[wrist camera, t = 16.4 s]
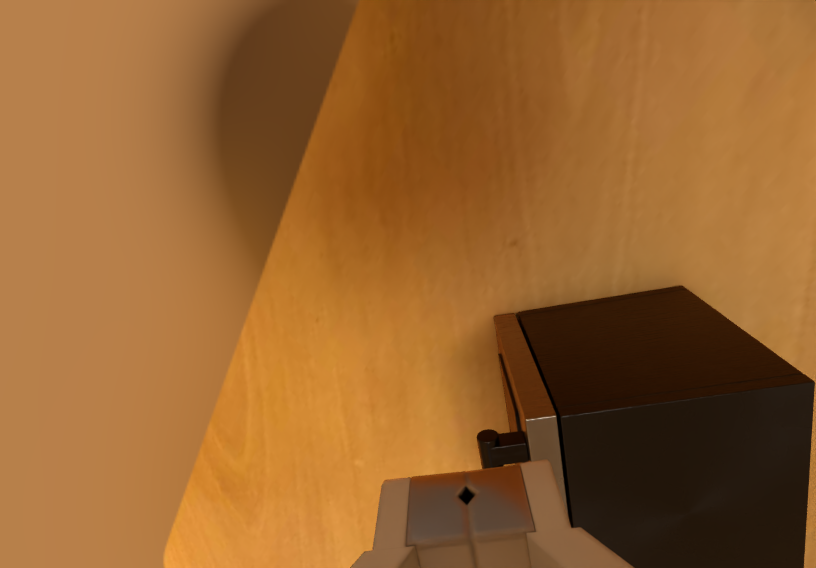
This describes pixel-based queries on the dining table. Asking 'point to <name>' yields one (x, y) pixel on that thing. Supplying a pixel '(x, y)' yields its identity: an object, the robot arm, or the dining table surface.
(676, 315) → the dishwasher
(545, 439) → the dishwasher door
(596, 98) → the dining table surface
